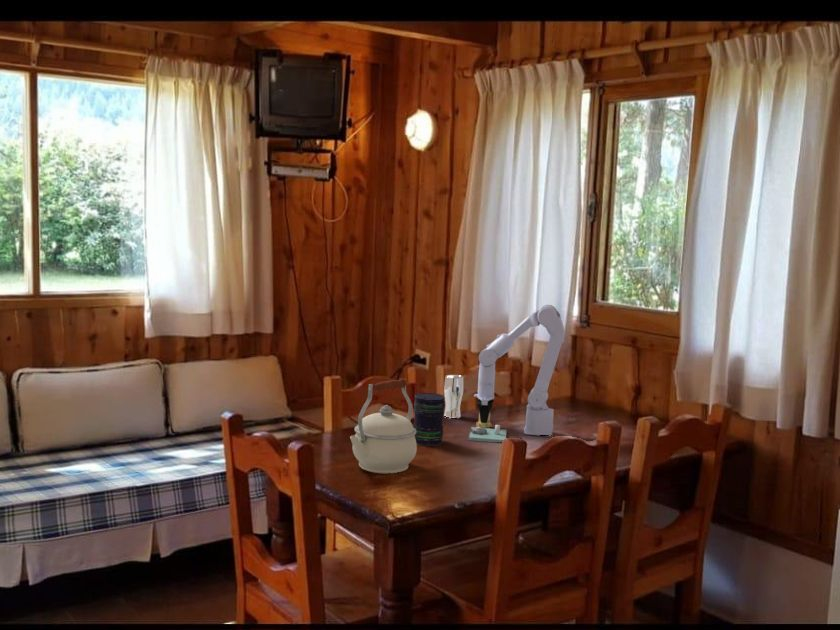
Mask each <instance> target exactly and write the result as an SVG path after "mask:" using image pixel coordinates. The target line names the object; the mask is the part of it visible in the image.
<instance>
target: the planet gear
mask: <svg viewBox="0 0 840 630" xmlns="http://www.w3.org/2000/svg"><path fill="white" fill-rule="evenodd" d="M492 424H493V423H491V412H490V413H489V417H488V421H487V423H481V421H480V413H478V421H476V423H475V426H476V427H482V428H491V427H492Z"/></svg>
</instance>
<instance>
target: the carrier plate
mask: <svg viewBox="0 0 840 630" xmlns="http://www.w3.org/2000/svg"><path fill="white" fill-rule="evenodd" d="M505 438H506V439H507V429H502V428H501V425H500V424H495V427H494V428H491V427H489V428H488V427H485V428H483V427H478V426H471V427H470V430H469V436H468V441H473V442H474V441H475V442H486V443H487V442H488V443H497V442H499V443H500V442H502V441H503V440H504V439H505Z"/></svg>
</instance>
